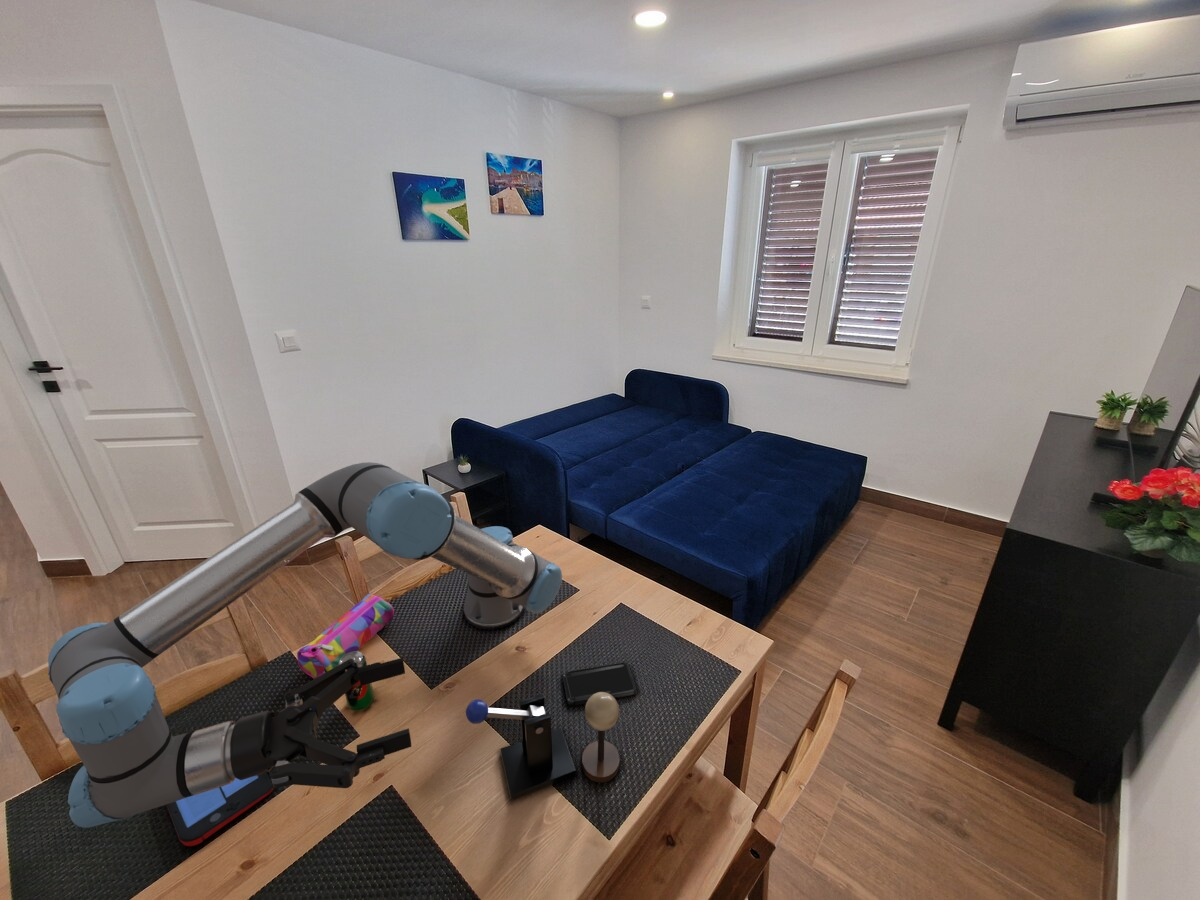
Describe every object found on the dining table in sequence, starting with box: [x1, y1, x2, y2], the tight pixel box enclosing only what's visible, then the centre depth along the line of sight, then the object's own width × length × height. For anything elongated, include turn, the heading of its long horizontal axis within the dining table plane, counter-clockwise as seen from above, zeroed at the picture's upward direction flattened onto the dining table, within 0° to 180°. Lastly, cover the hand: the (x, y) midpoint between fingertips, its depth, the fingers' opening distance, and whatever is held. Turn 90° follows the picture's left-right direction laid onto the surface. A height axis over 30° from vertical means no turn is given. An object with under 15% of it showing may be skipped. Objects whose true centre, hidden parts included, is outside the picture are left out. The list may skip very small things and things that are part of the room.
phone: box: [562, 662, 637, 707], centre depth 106 cm, size 8×1×15 cm
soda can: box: [339, 650, 375, 712], centre depth 99 cm, size 5×5×12 cm
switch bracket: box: [500, 693, 577, 801], centre depth 87 cm, size 12×9×15 cm
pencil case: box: [296, 593, 395, 679], centre depth 112 cm, size 22×9×9 cm, turn 160°
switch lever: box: [465, 698, 546, 725], centre depth 82 cm, size 14×4×4 cm, turn 113°
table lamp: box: [581, 692, 621, 784], centre depth 87 cm, size 7×7×17 cm
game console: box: [165, 772, 275, 847], centre depth 84 cm, size 14×13×2 cm
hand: (407, 698), depth 73 cm, fingers open, 13 cm apart
